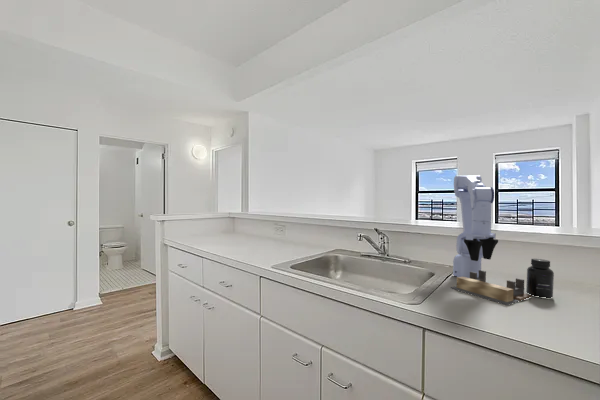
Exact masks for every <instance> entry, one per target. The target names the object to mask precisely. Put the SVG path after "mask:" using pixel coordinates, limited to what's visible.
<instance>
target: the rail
mask: <svg viewBox="0 0 600 400" xmlns="http://www.w3.org/2000/svg"><path fill="white" fill-rule="evenodd" d="M456 286H457V288H460V289H464V290H467V291H471V292H474V293H477V294H481V295H484V296H488V297H491V298H495V299H498V300H501V301H505V302H509V301H513V289H511V288H507V286H503V285H498V284H495V283H491V282H487V281H486V282H483V281H479V280H475V279H471V278H467V277H456Z"/></svg>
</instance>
